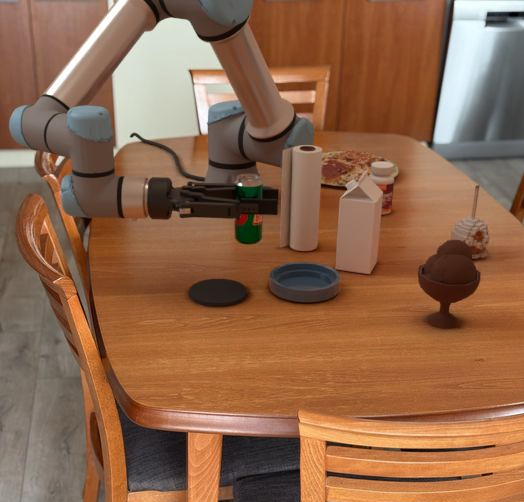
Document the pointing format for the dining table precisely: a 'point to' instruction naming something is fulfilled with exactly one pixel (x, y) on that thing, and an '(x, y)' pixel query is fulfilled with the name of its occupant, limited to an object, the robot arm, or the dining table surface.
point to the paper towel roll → (300, 197)
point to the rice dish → (348, 166)
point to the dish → (304, 282)
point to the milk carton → (359, 226)
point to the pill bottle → (383, 183)
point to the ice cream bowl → (449, 279)
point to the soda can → (248, 224)
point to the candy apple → (473, 232)
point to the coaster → (218, 292)
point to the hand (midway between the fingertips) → (277, 201)
